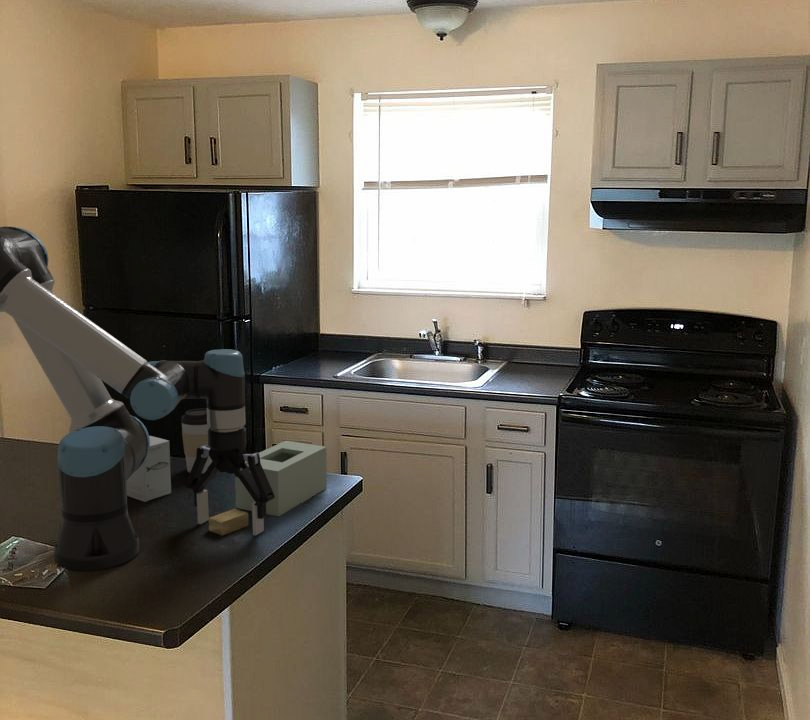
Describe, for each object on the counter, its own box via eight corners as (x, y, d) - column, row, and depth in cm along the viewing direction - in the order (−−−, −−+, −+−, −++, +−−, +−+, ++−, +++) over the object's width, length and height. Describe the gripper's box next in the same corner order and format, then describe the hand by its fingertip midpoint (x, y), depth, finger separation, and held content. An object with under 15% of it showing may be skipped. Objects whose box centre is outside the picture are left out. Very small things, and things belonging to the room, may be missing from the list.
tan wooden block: (221, 536, 177) (221, 522, 176) (208, 531, 179) (208, 517, 179) (248, 526, 182) (248, 512, 182) (235, 522, 185) (235, 508, 184)
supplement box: (145, 502, 194) (142, 447, 192) (124, 495, 199) (122, 441, 196) (172, 493, 200) (170, 440, 198) (152, 487, 205) (149, 434, 202)
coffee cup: (174, 471, 216) (172, 411, 213) (199, 461, 224) (197, 404, 221) (203, 477, 212) (201, 416, 209) (227, 467, 219) (225, 408, 217)
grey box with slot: (278, 516, 187) (277, 471, 185) (235, 507, 192) (234, 463, 190) (326, 488, 205) (326, 446, 203) (286, 481, 209) (285, 440, 208)
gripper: (290, 429, 175) (292, 531, 179) (188, 415, 185) (193, 511, 189) (268, 439, 168) (271, 544, 172) (164, 424, 178) (169, 523, 182)
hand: (230, 527), depth 181 cm, fingers open, 13 cm apart
